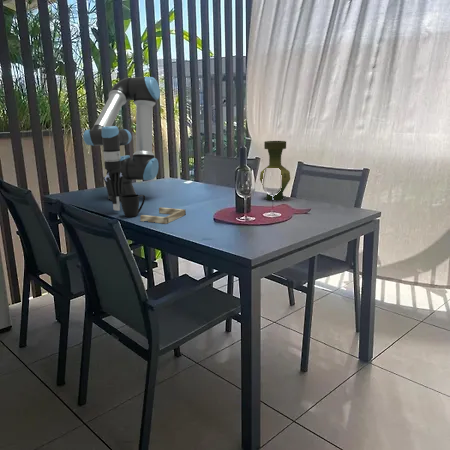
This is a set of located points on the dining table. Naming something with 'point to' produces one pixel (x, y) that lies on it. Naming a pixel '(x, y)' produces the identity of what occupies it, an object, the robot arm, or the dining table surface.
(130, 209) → the mug
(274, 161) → the vase
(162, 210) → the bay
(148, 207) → the dining table surface
